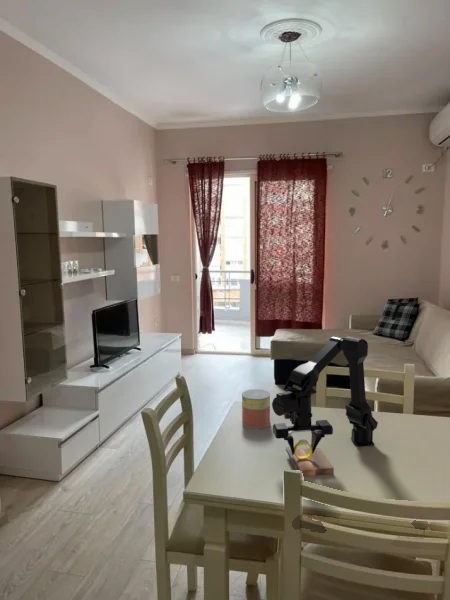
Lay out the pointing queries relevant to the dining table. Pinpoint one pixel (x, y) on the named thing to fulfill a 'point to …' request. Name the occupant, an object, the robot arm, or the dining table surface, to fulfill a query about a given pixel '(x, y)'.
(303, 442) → the watch
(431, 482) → the dining table surface
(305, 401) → the robot arm
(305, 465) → the copper slab
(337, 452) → the dining table surface
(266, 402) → the canned food
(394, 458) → the dining table surface
